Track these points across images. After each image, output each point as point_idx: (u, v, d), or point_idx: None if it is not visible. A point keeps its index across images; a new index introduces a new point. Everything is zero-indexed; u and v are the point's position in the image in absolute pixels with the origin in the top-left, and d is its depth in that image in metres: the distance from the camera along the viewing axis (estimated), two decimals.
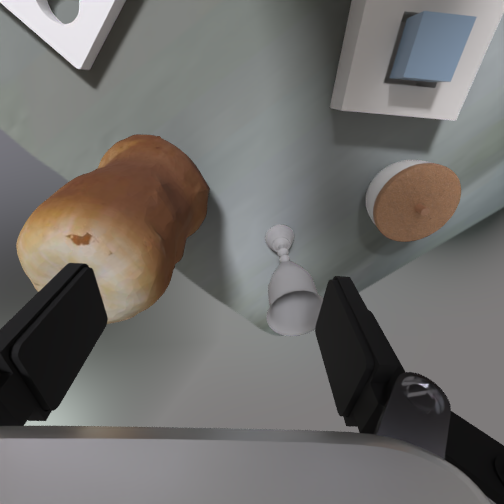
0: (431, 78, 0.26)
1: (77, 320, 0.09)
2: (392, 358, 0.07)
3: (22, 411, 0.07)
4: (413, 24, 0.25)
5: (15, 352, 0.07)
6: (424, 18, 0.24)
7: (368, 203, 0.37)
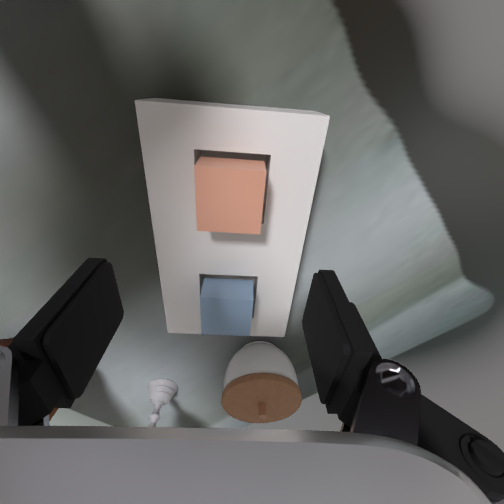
0: (229, 334, 0.27)
1: (98, 313, 0.09)
2: (368, 345, 0.07)
3: (51, 397, 0.07)
4: None
5: (46, 340, 0.07)
6: (202, 301, 0.25)
7: None
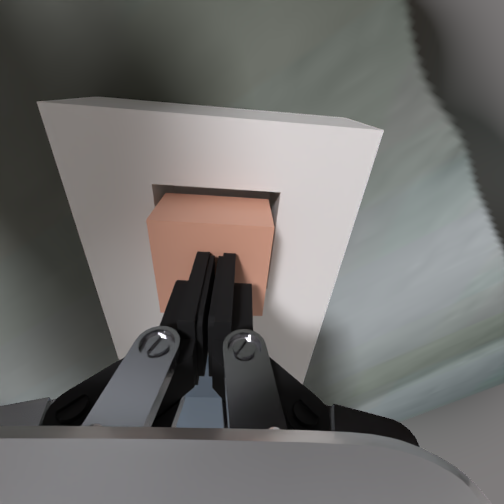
0: None
1: (210, 301, 0.10)
2: (229, 316, 0.08)
3: (194, 373, 0.08)
4: None
5: (199, 322, 0.08)
6: None
7: None
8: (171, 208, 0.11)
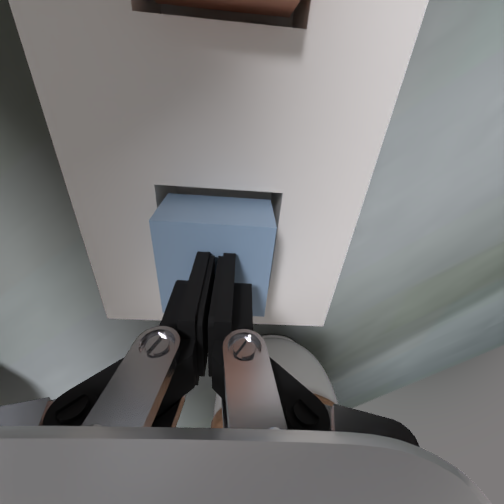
0: None
1: (210, 301, 0.10)
2: (229, 316, 0.08)
3: (194, 373, 0.08)
4: None
5: (199, 322, 0.08)
6: (157, 231, 0.10)
7: None
8: None
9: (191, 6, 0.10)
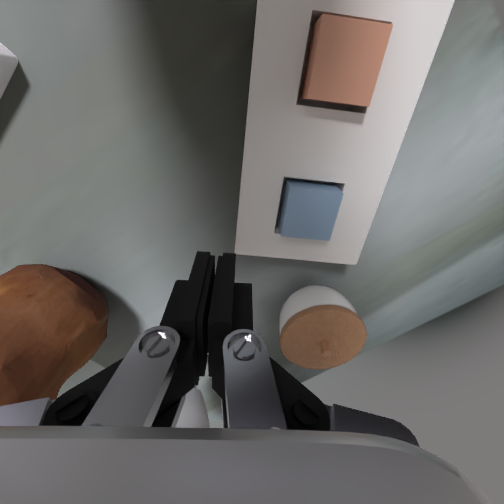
0: (309, 238, 0.26)
1: (210, 301, 0.10)
2: (229, 316, 0.08)
3: (194, 373, 0.08)
4: (287, 190, 0.25)
5: (199, 321, 0.08)
6: (291, 192, 0.24)
7: (279, 327, 0.35)
8: None
9: None
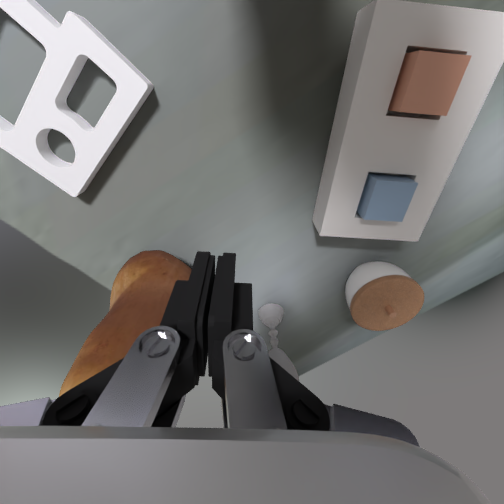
0: (386, 220, 0.33)
1: (210, 301, 0.10)
2: (229, 316, 0.08)
3: (194, 373, 0.08)
4: (370, 182, 0.32)
5: (199, 322, 0.08)
6: (377, 184, 0.31)
7: (346, 297, 0.42)
8: None
9: None
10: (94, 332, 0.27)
